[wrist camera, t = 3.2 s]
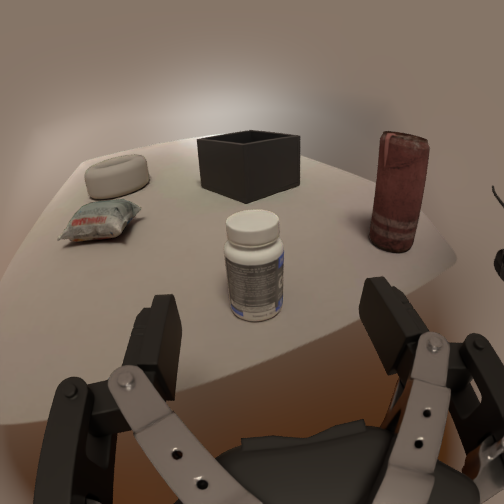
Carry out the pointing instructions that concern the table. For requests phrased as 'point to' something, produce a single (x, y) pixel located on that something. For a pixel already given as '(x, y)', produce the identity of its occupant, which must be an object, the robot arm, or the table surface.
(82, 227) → the packaged food
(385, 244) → the can
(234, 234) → the pill bottle
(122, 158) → the donut shape
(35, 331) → the table surface
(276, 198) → the table surface
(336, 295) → the table surface
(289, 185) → the trash bin
